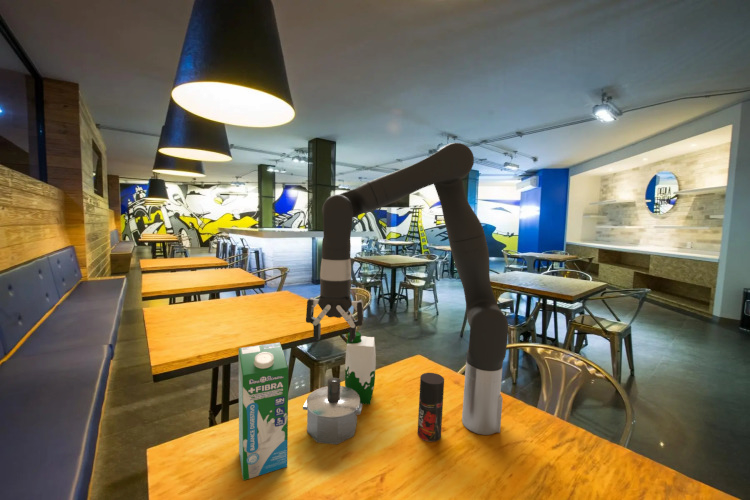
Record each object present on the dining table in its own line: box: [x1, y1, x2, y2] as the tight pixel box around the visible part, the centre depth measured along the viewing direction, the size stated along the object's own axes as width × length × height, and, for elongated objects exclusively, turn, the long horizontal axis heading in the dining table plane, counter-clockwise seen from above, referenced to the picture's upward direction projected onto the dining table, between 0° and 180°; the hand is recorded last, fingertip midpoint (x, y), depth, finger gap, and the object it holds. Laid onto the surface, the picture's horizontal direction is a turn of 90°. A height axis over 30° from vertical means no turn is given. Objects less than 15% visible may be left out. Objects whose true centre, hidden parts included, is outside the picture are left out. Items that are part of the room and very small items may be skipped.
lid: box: [306, 377, 360, 418], centre depth 83 cm, size 14×14×6 cm
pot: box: [302, 399, 363, 445], centre depth 84 cm, size 15×12×7 cm
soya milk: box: [344, 331, 377, 405], centre depth 98 cm, size 9×9×20 cm
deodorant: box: [417, 372, 445, 443], centre depth 82 cm, size 6×6×15 cm
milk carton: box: [238, 342, 289, 481], centre depth 71 cm, size 9×9×25 cm
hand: (334, 339), depth 82 cm, fingers open, 8 cm apart
